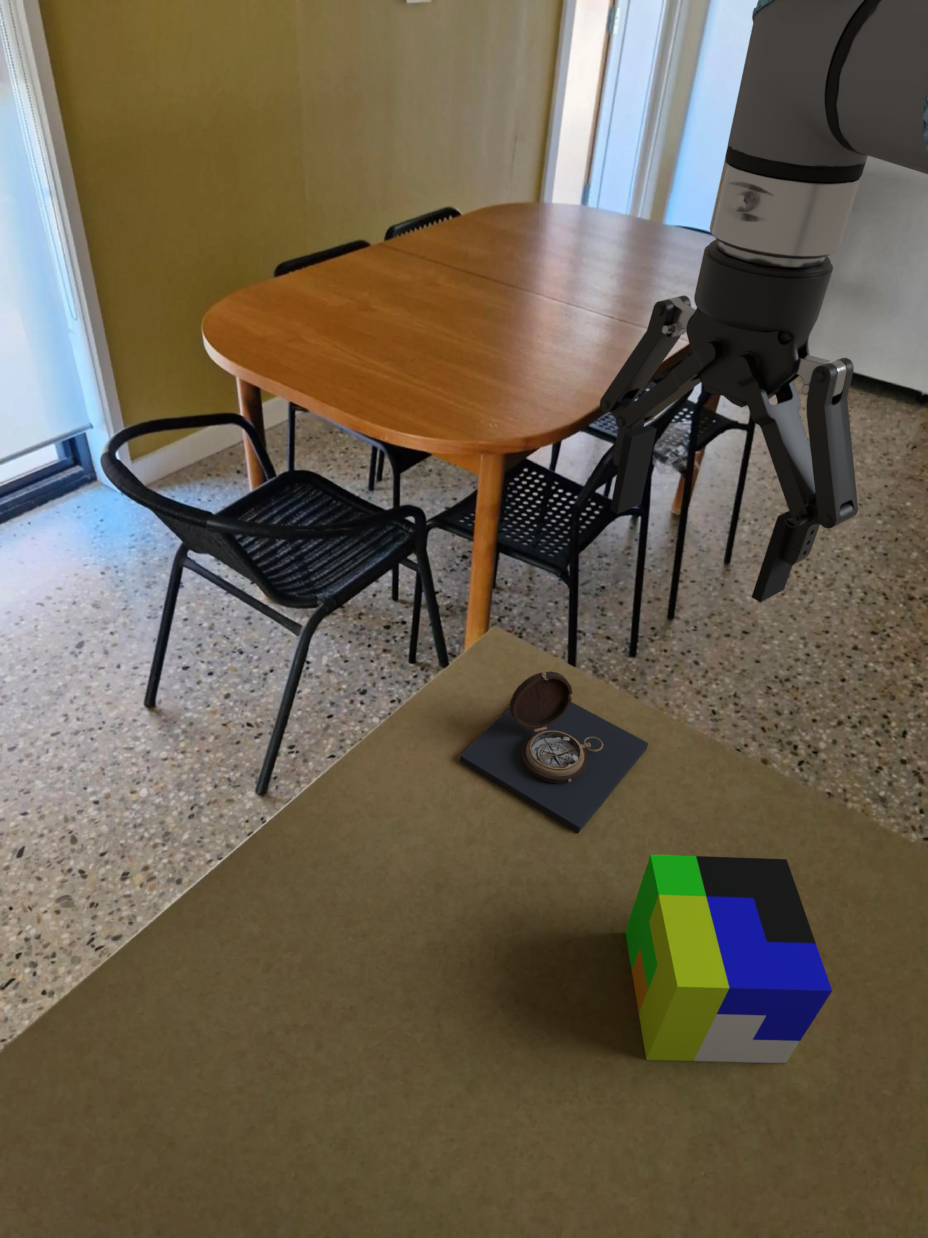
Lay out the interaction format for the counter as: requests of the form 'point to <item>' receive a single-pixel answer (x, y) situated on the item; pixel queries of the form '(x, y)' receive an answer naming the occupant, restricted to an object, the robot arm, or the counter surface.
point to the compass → (548, 749)
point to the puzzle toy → (723, 960)
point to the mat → (561, 801)
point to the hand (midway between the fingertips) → (692, 548)
